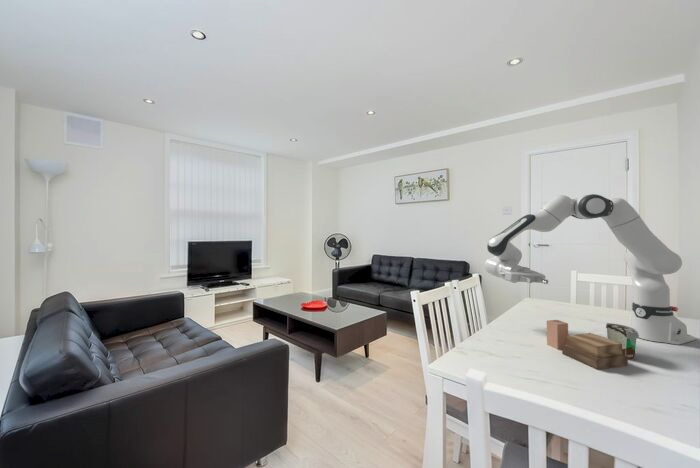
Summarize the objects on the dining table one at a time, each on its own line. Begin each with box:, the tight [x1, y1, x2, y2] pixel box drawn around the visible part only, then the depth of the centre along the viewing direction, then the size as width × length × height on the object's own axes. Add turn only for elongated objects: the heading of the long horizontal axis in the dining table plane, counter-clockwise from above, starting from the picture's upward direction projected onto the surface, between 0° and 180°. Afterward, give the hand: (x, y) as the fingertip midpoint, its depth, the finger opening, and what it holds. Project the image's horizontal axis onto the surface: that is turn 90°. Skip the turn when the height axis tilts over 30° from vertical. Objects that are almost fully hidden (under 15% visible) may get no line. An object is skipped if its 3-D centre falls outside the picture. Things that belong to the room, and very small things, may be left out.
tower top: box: [567, 332, 622, 358], centre depth 107 cm, size 11×11×4 cm
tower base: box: [561, 345, 629, 370], centre depth 107 cm, size 13×13×4 cm
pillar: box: [546, 319, 569, 350], centre depth 119 cm, size 5×5×10 cm
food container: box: [605, 322, 640, 360], centre depth 111 cm, size 12×6×10 cm, turn 168°
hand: (539, 281), depth 128 cm, fingers open, 8 cm apart
